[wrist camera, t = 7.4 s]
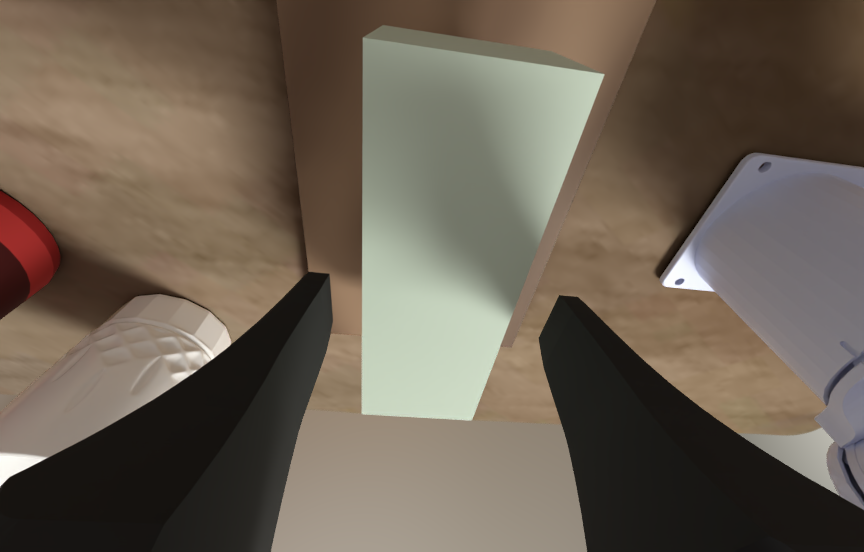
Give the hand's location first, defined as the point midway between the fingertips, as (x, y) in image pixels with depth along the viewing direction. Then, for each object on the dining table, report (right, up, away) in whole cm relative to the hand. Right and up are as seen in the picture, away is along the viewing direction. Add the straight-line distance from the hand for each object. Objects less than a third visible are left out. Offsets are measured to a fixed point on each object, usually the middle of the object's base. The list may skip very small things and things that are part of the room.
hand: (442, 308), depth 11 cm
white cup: (-17, -3, +13) cm, 22 cm away
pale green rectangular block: (0, +3, +3) cm, 4 cm away
